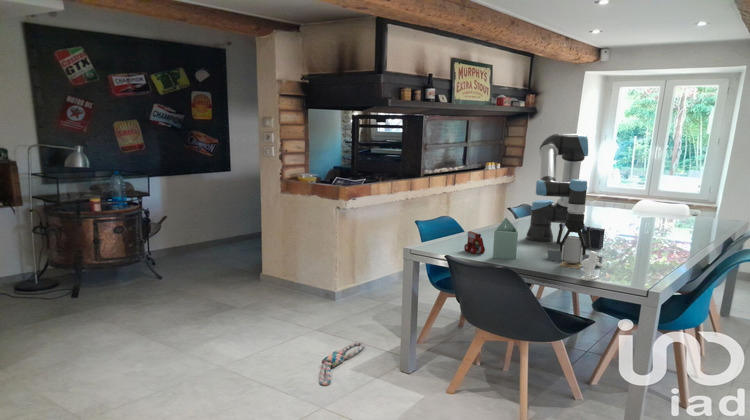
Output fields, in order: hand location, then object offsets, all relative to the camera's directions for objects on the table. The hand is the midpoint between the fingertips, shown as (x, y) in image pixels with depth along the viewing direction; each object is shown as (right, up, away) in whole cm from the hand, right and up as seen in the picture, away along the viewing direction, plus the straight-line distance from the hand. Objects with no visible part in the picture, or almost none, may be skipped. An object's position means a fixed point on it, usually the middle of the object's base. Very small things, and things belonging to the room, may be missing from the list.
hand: (571, 260), depth 232 cm
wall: (+4, -2, +7) cm, 8 cm away
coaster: (0, -3, 0) cm, 3 cm away
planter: (-26, 0, +14) cm, 29 cm away
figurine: (0, -6, -20) cm, 21 cm away
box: (+28, +3, +42) cm, 51 cm away
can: (0, -1, 0) cm, 1 cm away
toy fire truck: (-42, +2, +22) cm, 47 cm away
